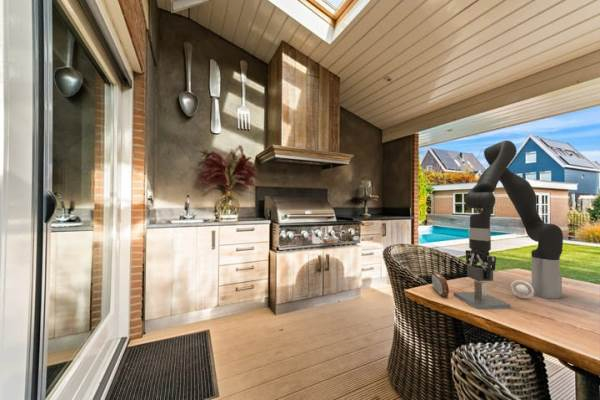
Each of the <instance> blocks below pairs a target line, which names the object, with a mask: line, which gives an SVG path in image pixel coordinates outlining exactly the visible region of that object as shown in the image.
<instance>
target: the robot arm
mask: <svg viewBox="0 0 600 400" xmlns="http://www.w3.org/2000/svg"><path fill="white" fill-rule="evenodd" d="M517 150H518V149H517V146H516V145H515V143H514V142H513V141H511V140H503V141H499V142H497V143H495V144H493V145H491V146H490V145H489V146H488V147H485V149H484V150H483V156H484V158H485V161H486V162H487V164H488V165H489V166H488V167H487V168H486V169H485V170H484V171H483V172H482V173H481V174H480V176H479V178H478V180H477V183H476V184H475V185H474V186H473V187H472V188H471V189H470V190H469V191H468V192H467V194H466V195H465V198H464V204H465V206H466V207H467V208H468V209H477V210H478V209H481V212H479V213H473V214H471V215H470V216H469V230H468V238H469V239H468V240H469V241H468V248H469V249H468V250H465V262H466V264H468V265H474V264H475V265H478V263H479V265H482V267H483V269H484V271H483V278H484V280H489V279H490V271H493V272H494V271H496V266H497V265H496V264H497V263H496V262H497V257H496V256H495V255H490V251H491V249H492V236H491V235H492V233H491V217H492V216H491V215H492V213H493V209H494V207H495V203H496V196H495V195H494V192H495V190H496V188H497V186H498V183H499V182H500V183H501V185H502V187H503V189H504V191H505V192H506V194H507V196H508V198H509V200H510V201H511V203H512V205H513V206H514V208H515V210H516V212H517V214H518V216H519V218H520V219H521V222H522V225H523V226H524V227H523V228H524V229H525V233H526V234H527V236H528V237H529V239H531V240H532V241H534V242H537V248H536V249H532V251H531V253H530V254H531V286H532V287H533V289H534V295H536V296H538V297H541V298H546V299H551V300H552V299H553V300H558V299H560V298H563V281H562V280H563V278H562V275H561V273H560V272H561V267H560V265H561V263H560V259H561V258H560V257H561V255H562V254H563V248H564V247H563V245H564V244H563V243H564V233H563V230H562V228H561V227H559V226H558V225H557V224H552V223H547V222H544V221H543V219H542V218H541V216H540V215H539V213H538V210H537V201H538V200H537V194H536V193H535V190H534V188H533V186H532V185H531V183H530V182H529V181H528V180H527V179H525V178H523V177H522V176H520V175H518V174H516V173H514V172H512V171H511V170H510V169H508V167H509V165H510V164H511V162H512V161H513V160H514V158H515V157H516V155H517V153H518V151H517ZM486 267H487V268H486Z"/></svg>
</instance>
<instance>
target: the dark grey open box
mask: <svg viewBox="0 0 600 400" xmlns="http://www.w3.org/2000/svg"><path fill="white" fill-rule="evenodd" d="M466 268H467V269H466V276H467V277H468V278H470V279H472V280H477V281H482V282H494V271H490V279H489V280H484V278H483V271H484V269H483V267H482V265H481V264H477V265H475V264H474V265H469V264H468V265H467V266H466ZM486 268H487V266H486Z"/></svg>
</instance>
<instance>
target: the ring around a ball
mask: <svg viewBox="0 0 600 400" xmlns="http://www.w3.org/2000/svg"><path fill="white" fill-rule="evenodd" d="M518 283H519V284H518ZM516 284H517V285H516ZM515 285H516V286H515ZM514 286H515V287H514ZM529 289H530V290H529ZM510 290H511V292H512V294H514V295H515V297H518V298H520V299H525V300H527V299H531V298H532V297H533V296H534V295H535V294H534V289H533V287H532V284H530V283H529V282H527V281H526V280H521V279H517V280H514V281H512V282H511V284H510ZM529 291H530V293H529ZM527 294H528V295H527Z"/></svg>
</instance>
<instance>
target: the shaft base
mask: <svg viewBox="0 0 600 400" xmlns="http://www.w3.org/2000/svg"><path fill="white" fill-rule="evenodd" d="M473 281H474V282H473V283H474V285H473V286H474V291H466V292H465V291H464V292H463V291H461V292H460V291H459V292H458V291H457V292H453V297H454V298H457V299H459V300H460V301H463V303H464V302H465V303H466V304H468V305H470V306H471V307H474V308H475V309H477V310H486V309H488V310H489V309H490V310H491V309H492V310H493V309H494V310H495V309H511V308H512V307H511V305H512V304H510V303H508V302H506V301H503V300H502V299H500V298H497V297H495V296H493V295H491V294H488V293H487V282H486V281H477V280H475V279H473Z"/></svg>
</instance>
